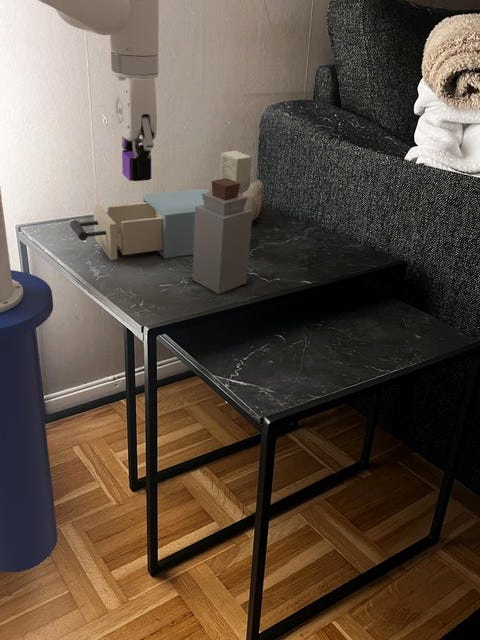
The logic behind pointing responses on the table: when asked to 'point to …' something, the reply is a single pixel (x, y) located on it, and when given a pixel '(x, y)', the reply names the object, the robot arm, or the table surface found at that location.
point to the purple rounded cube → (129, 165)
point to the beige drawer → (124, 229)
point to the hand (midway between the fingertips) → (136, 175)
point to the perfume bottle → (222, 237)
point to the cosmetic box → (236, 168)
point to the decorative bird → (254, 198)
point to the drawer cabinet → (177, 219)
